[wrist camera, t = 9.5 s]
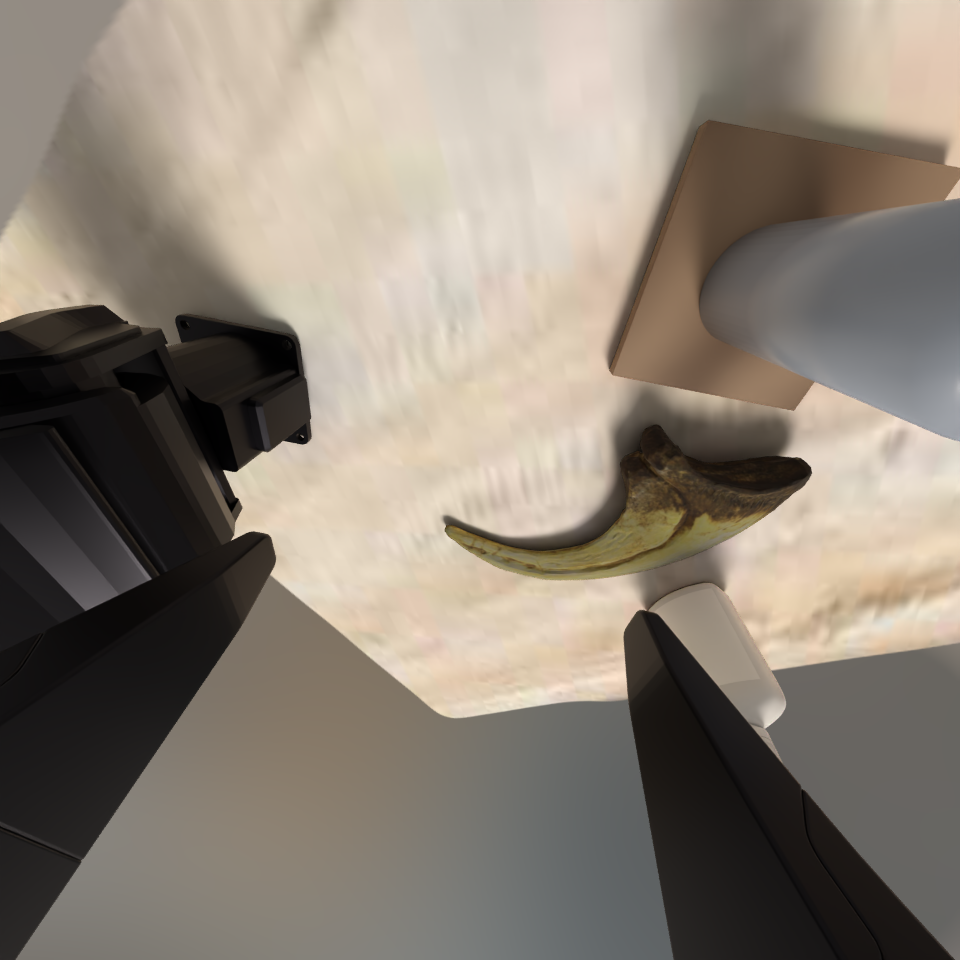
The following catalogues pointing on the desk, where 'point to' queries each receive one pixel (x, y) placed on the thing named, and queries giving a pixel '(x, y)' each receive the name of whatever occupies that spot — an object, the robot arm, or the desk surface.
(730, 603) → the eye dropper bottle
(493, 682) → the desk surface
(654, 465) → the claw
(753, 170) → the coaster
